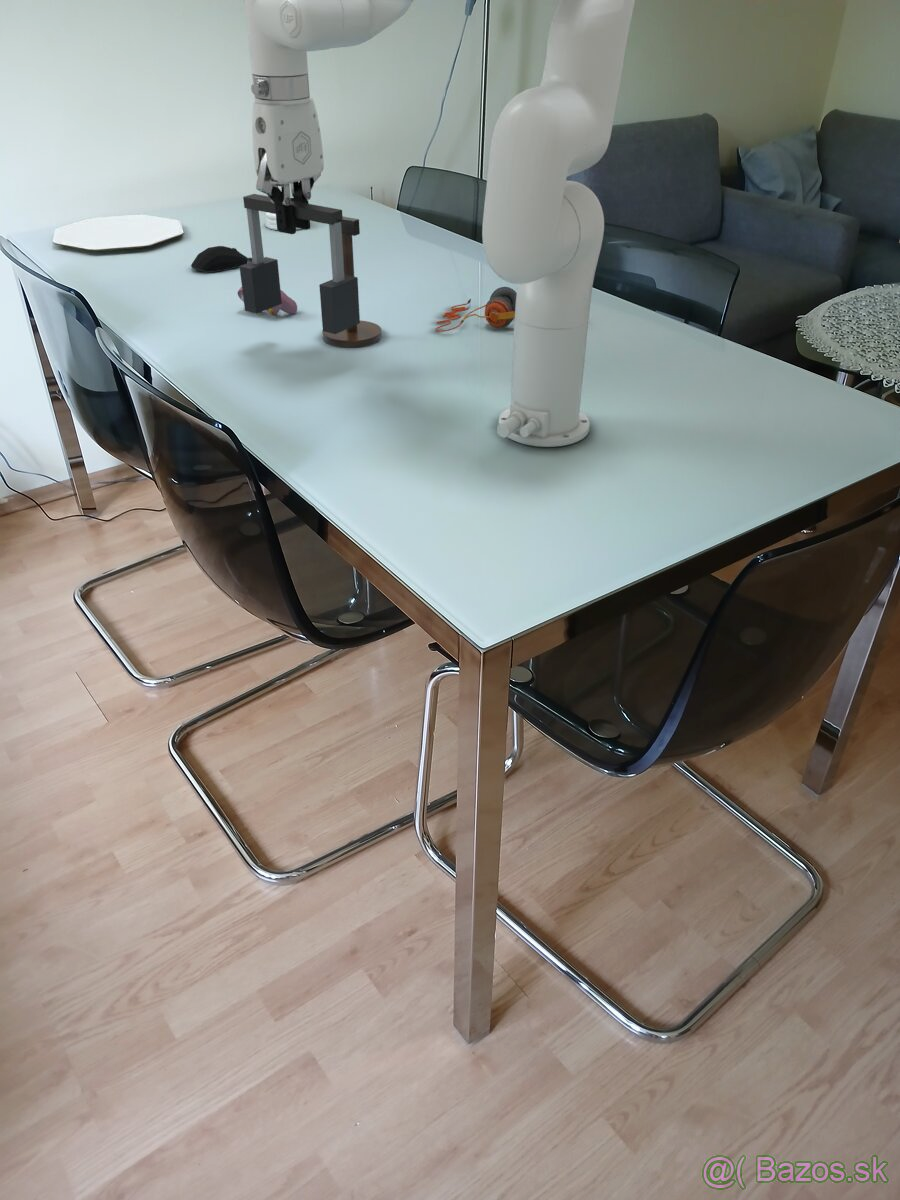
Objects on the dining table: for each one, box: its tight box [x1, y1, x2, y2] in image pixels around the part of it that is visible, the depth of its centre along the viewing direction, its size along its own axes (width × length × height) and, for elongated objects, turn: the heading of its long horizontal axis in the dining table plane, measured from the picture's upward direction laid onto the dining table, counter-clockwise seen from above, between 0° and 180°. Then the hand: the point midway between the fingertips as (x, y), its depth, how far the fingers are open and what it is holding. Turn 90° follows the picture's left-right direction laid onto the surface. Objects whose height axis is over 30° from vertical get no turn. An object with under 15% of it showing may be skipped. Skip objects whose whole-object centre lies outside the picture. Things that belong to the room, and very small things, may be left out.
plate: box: [52, 214, 185, 252], centre depth 204 cm, size 28×28×2 cm
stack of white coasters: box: [264, 212, 302, 231], centre depth 213 cm, size 10×10×4 cm
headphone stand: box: [321, 215, 383, 349], centre depth 149 cm, size 10×10×19 cm
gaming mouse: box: [190, 245, 253, 273], centre depth 187 cm, size 6×15×4 cm, turn 127°
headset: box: [238, 193, 361, 334], centre depth 138 cm, size 6×18×17 cm, turn 57°
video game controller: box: [237, 286, 298, 317], centre depth 163 cm, size 10×5×7 cm, turn 62°
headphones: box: [435, 286, 517, 333], centre depth 160 cm, size 17×5×20 cm
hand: (293, 229), depth 135 cm, fingers closed on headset, 2 cm apart
